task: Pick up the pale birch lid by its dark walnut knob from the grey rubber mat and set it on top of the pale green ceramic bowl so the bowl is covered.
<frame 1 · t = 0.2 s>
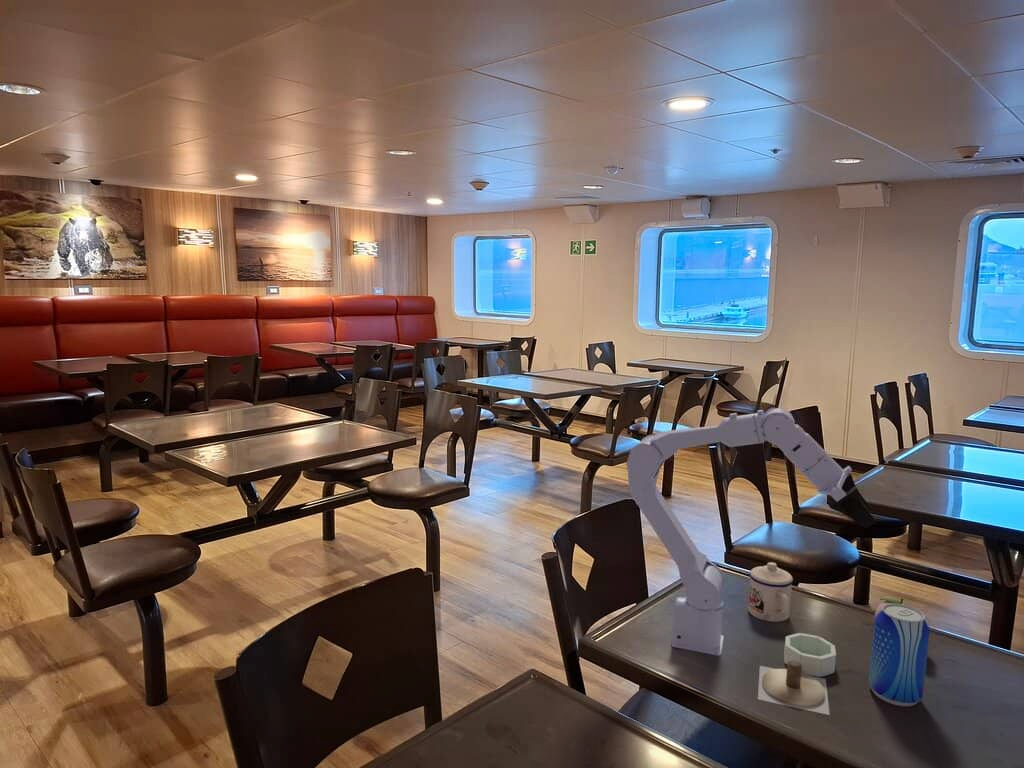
hand: (868, 518, 124), 31 cm above the table, tool tilted 45°, fingers open, 7 cm apart
lid: (792, 688, 124), resting on mat
teacup with lid: (771, 617, 152), on the table
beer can: (894, 696, 123), on the table
bowl: (808, 664, 133), on the table
mat: (792, 690, 124), on the table
decorative fruit: (896, 646, 140), on the table
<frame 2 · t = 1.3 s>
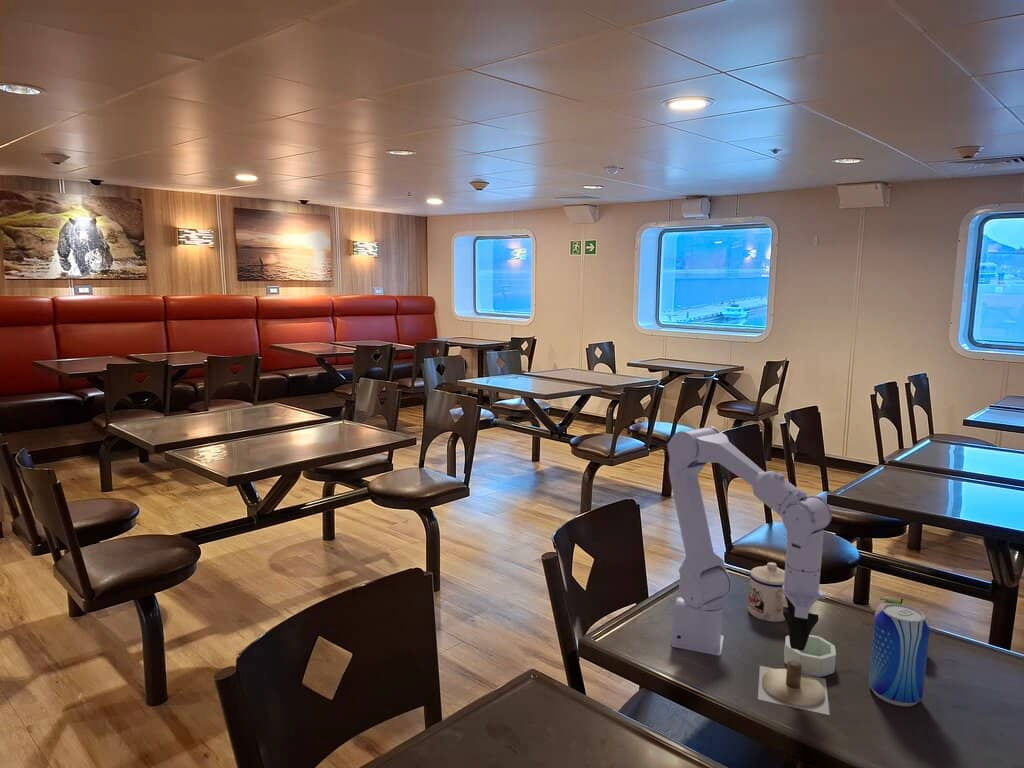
hand: (796, 638, 122), 10 cm above the table, tool pointing down, fingers open, 7 cm apart
nothing on the table moved.
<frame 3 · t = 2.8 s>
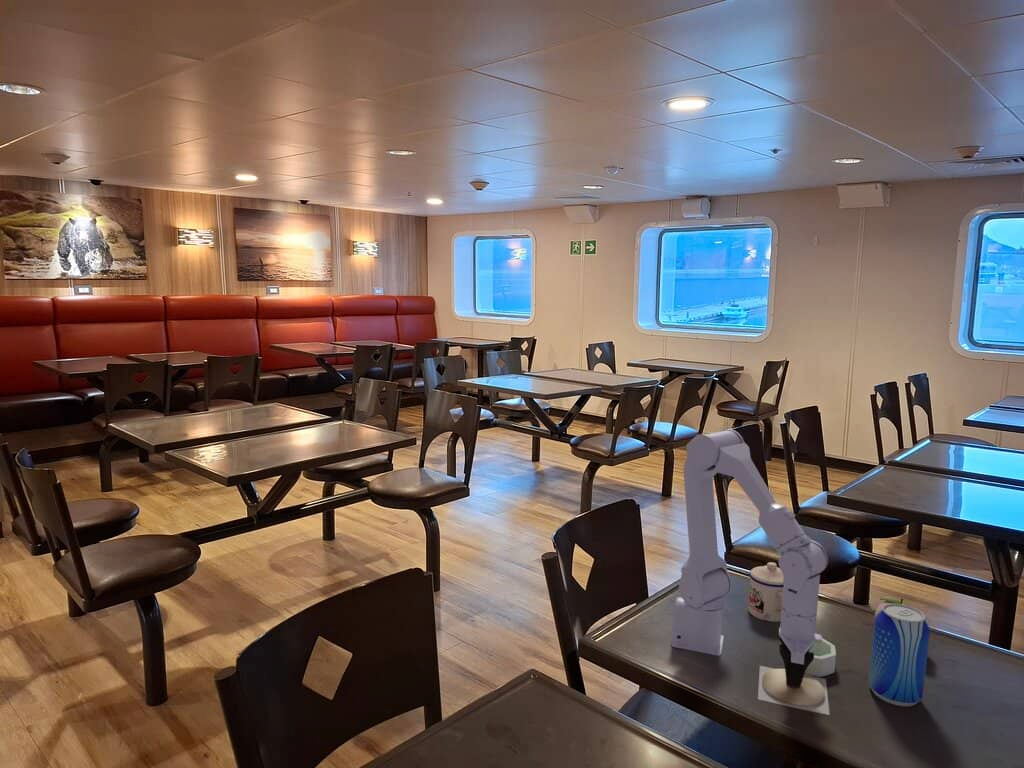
hand: (793, 680, 124), 2 cm above the table, tool pointing down, fingers closed on lid, 2 cm apart
lid: (792, 688, 124), resting on mat, touching gripper
everything else where it was.
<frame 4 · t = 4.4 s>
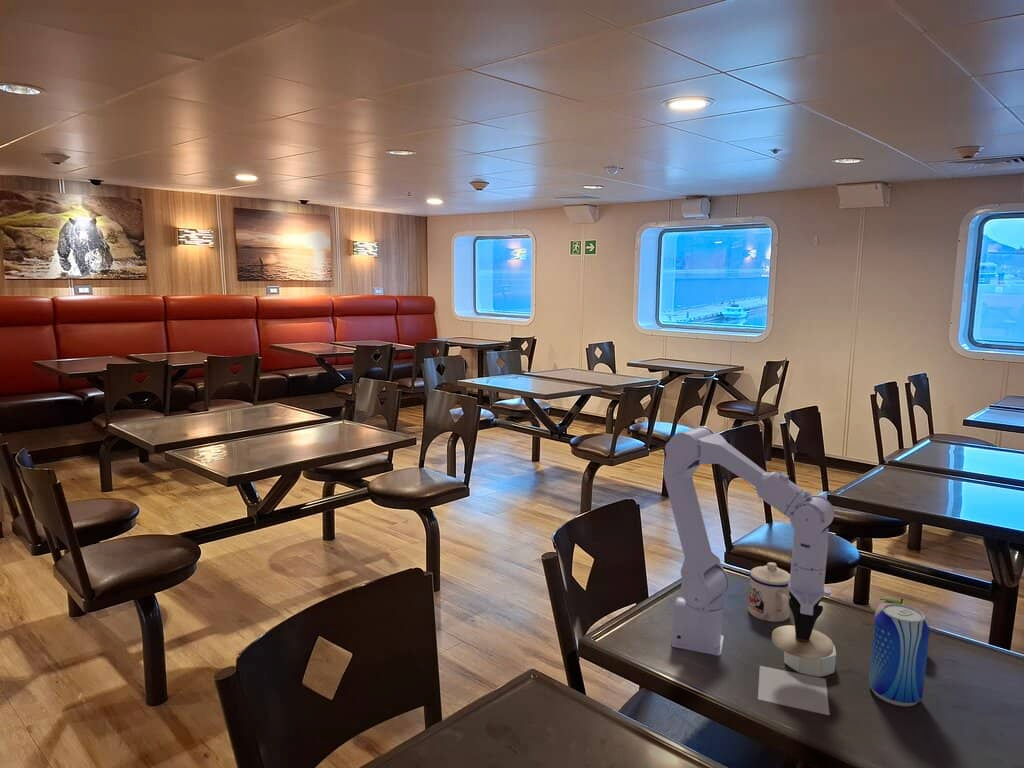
hand: (802, 634, 126), 9 cm above the table, tool pointing down, fingers closed on lid, 2 cm apart
lid: (801, 643, 126), point 7 cm above the table, touching gripper
everything else where it was.
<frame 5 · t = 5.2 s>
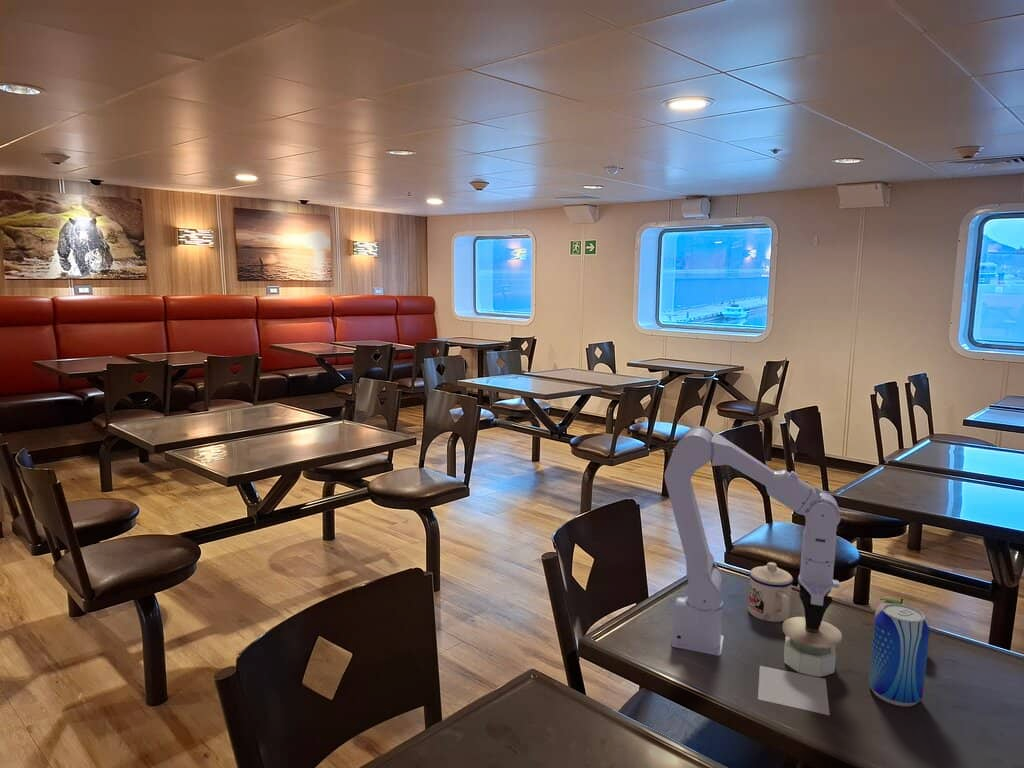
hand: (812, 624, 131), 8 cm above the table, tool pointing down, fingers closed on lid, 2 cm apart
lid: (811, 633, 132), point 6 cm above the table, touching gripper
everything else where it was.
when the fingers open (7 cm above the table, at t = 5.8 s): lid stays where it is, resting on bowl.
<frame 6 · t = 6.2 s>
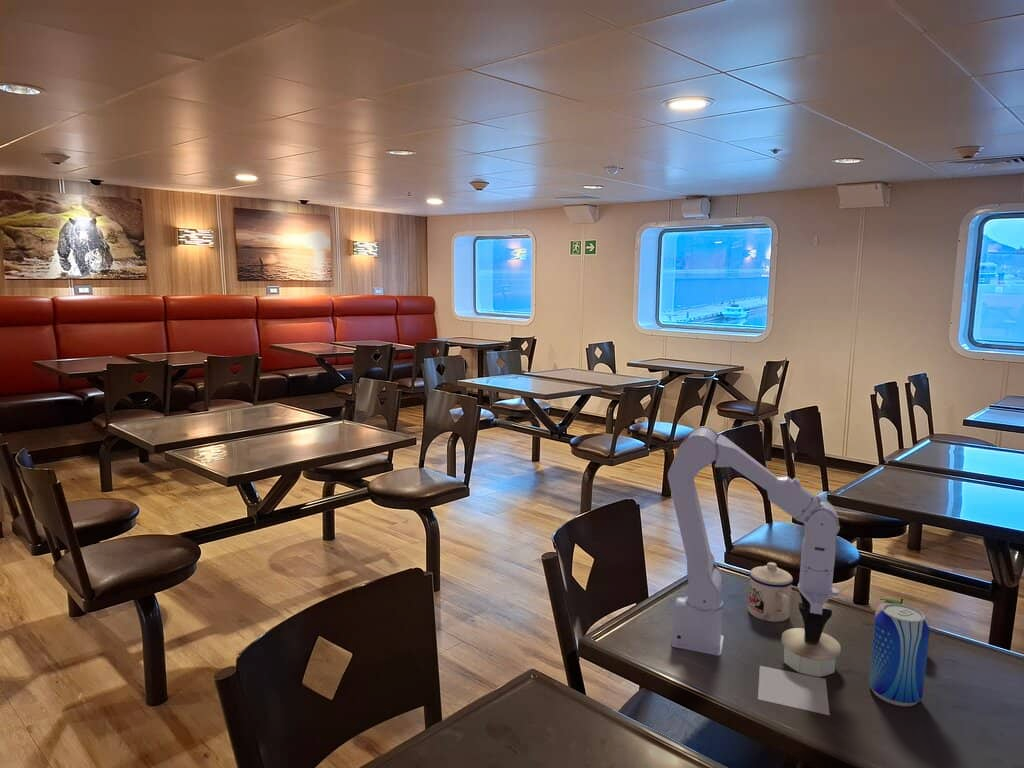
hand: (811, 632, 132), 7 cm above the table, tool pointing down, fingers open, 6 cm apart
lid: (810, 645, 132), point 4 cm above the table, touching bowl
everything else where it was.
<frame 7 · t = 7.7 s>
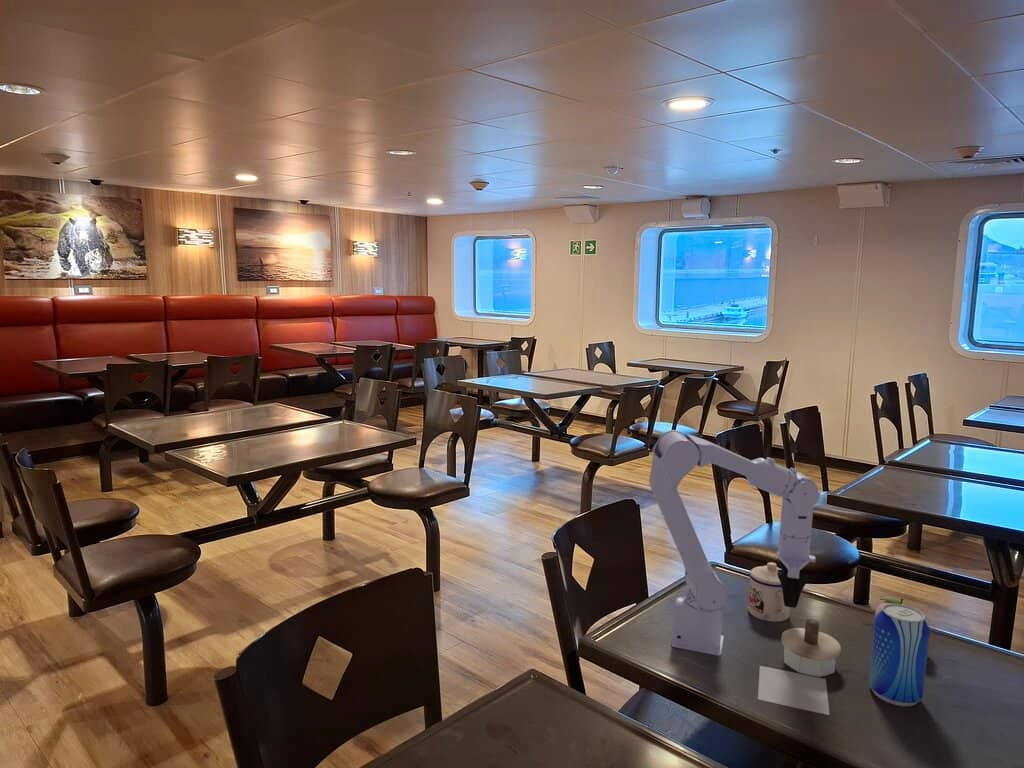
hand: (790, 598, 138), 10 cm above the table, tool pointing down, fingers open, 7 cm apart
nothing on the table moved.
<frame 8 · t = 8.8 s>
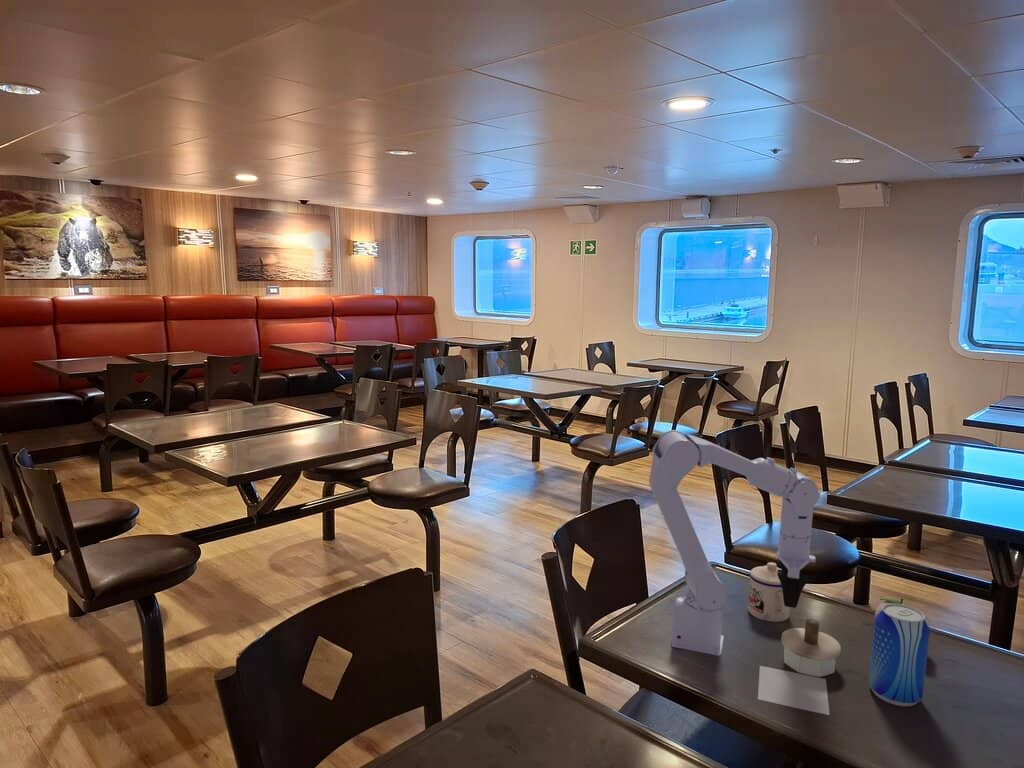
hand: (790, 598, 138), 10 cm above the table, tool pointing down, fingers open, 7 cm apart
nothing on the table moved.
at the end: lid 0.0 cm off-centre on the bowl, point 4.0 cm above the bowl's base; lid tilted 0°; the gripper is holding nothing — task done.
